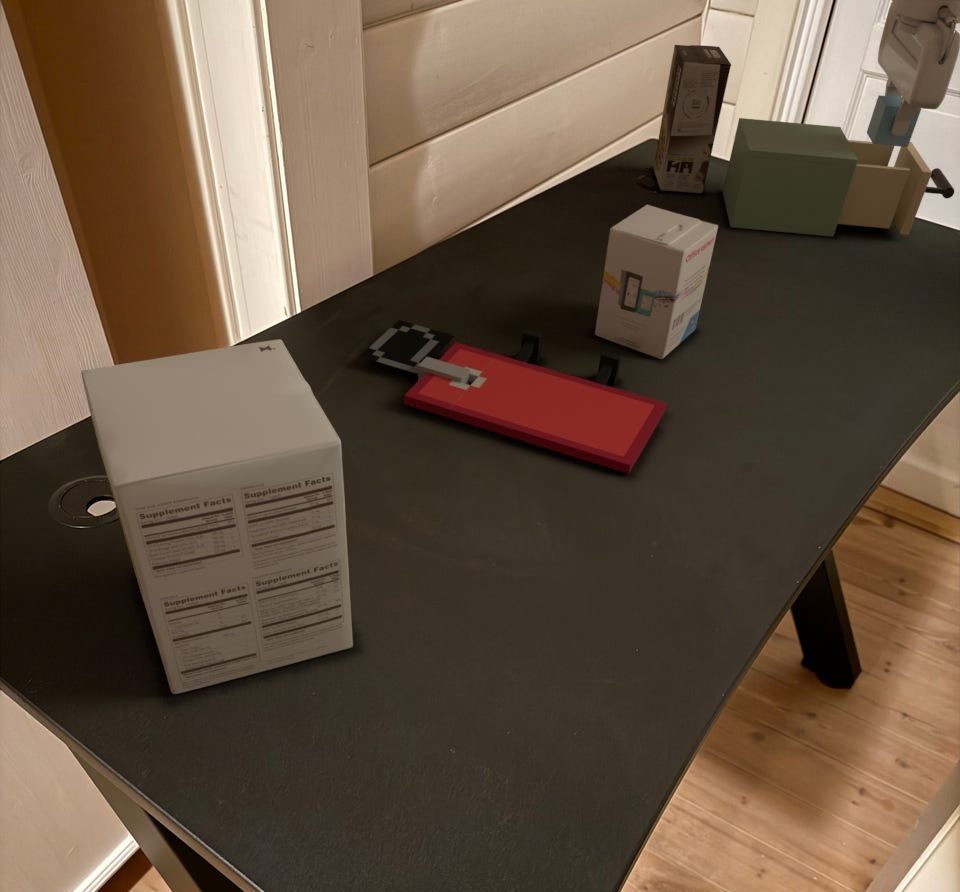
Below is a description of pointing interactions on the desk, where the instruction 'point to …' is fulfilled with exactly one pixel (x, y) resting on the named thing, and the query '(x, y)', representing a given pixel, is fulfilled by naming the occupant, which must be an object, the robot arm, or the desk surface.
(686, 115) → the coffee box
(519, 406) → the red board with handle
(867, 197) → the drawer
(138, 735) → the desk surface
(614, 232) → the ink box
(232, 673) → the supplement box
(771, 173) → the cabinet
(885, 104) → the matte blue-grey cube
